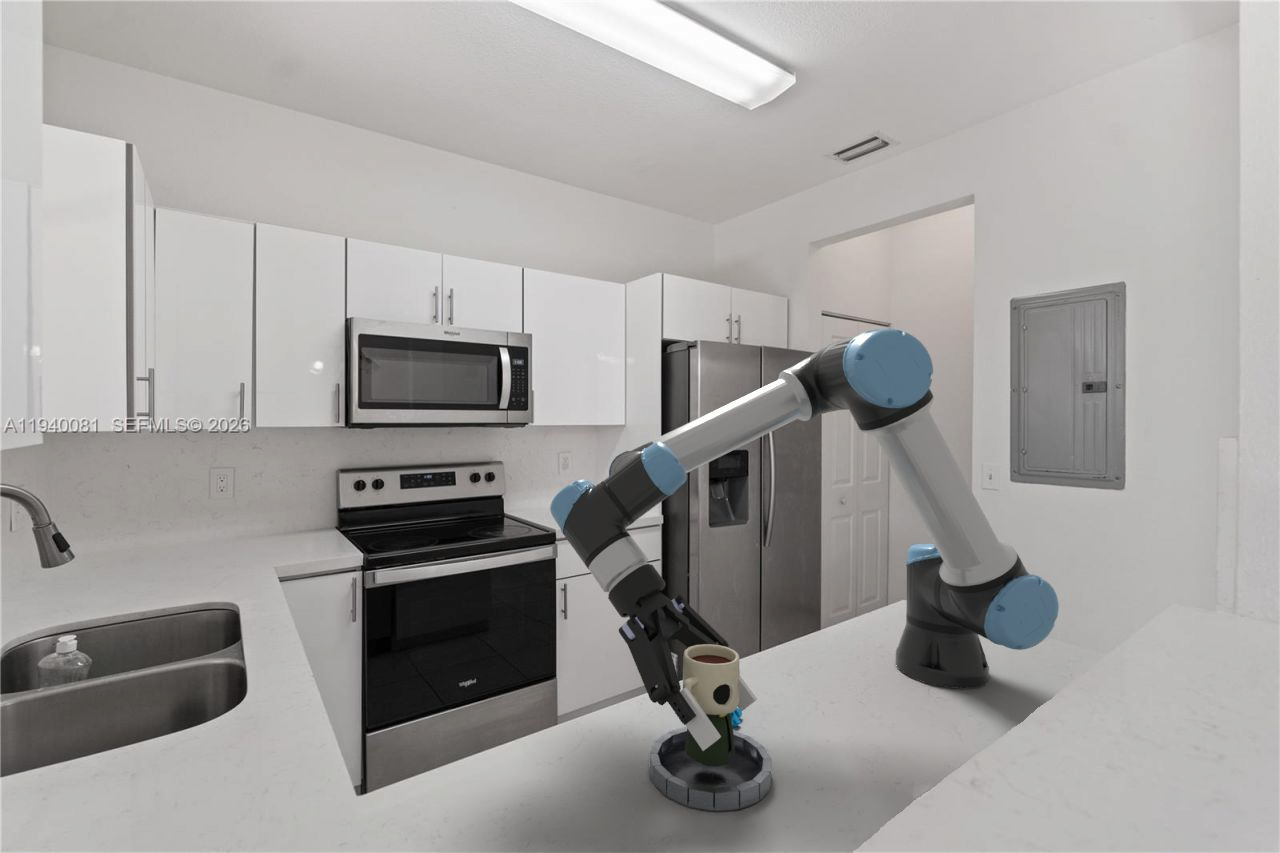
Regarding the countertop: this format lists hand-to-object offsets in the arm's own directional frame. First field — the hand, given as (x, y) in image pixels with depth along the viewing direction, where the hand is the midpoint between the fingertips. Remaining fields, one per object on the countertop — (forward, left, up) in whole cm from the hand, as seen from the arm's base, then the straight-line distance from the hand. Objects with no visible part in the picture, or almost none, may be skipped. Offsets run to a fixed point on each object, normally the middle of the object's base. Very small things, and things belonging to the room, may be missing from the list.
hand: (732, 723), depth 73 cm
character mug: (+2, -2, -5) cm, 6 cm away
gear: (-2, -16, -7) cm, 18 cm away
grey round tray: (+2, -2, -7) cm, 8 cm away
